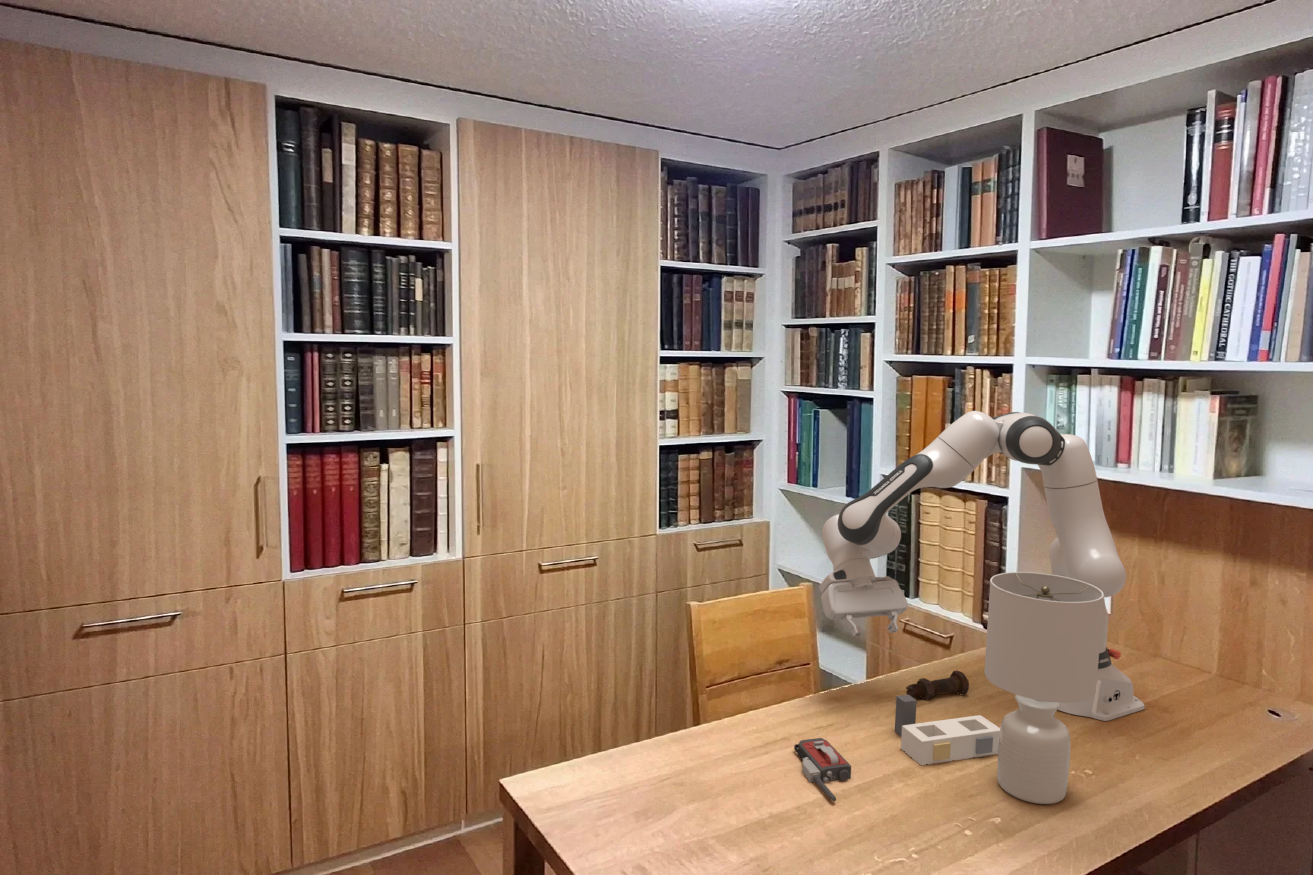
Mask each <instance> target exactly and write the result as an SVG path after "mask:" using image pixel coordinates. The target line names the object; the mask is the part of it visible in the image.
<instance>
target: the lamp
mask: <svg viewBox="0 0 1313 875" xmlns="http://www.w3.org/2000/svg"><path fill="white" fill-rule="evenodd" d="M988 594H989V595H988V596H989V597H988V598H989V599H988V612H987V613H988V614H987V627H986V628H987V629H986V630H987V631H986V640H985V641H986V643H985V657H984V658H985V659H984V672H983V673H984V676H985V678H986V679H987V681H989V682H990V683H991V684H993V685H994V686H996V687H997V688H999V689H1001V690H1004V691H1006V692H1007V693H1008V692H1009V693H1010V694H1014V695H1015V696H1014V698H1015V701H1016V702H1017V704H1018V709H1017V710H1013V711H1011V712H1009V713H1007V714H1006V715H1004V717H1003V718H1002V721H1001V724H1000V727H999V728H1000V735H999V746H998V754H997V779H996V780H997V782H998V784H999V786H1000V787H1001V789H1002V790H1004V791H1005V792H1006V793H1007V794H1009V795H1010V796H1013V797H1014V798H1017V799H1018V800H1022V801H1024V802H1028V803H1032V804H1036V805H1037V804H1039V805H1052V804H1058V803H1059V802H1061V801H1062V800H1063V799H1065V797H1066V796H1067V791H1068V790H1067V788H1068V784H1069V783H1068V782H1069V771H1070V763H1071V735H1070V731H1069V728H1067V726H1066V724H1065V723H1064V722H1063V721H1061V720H1060V719H1058V718H1056V716H1055V714H1056V712H1057V711H1058V708H1059V706H1060V703H1074V702H1081V701H1085V700H1089V699H1090V698H1092V697H1093V696H1094V695H1095V694H1096V685H1097V673H1098V660H1099V648H1100V635H1101V623H1102V610H1103V597H1104V594H1103V592H1102V591H1101V590H1100V589H1099V588H1097V587H1095V586H1093V585H1091V584H1088V583H1086V582H1083V581H1080V580H1076V579H1072V578H1068V577H1063V576H1058V575H1052V573H1051V574H1049V573H1042V572H1031V571H1030V572H1028V571H1015V572H1014V571H1013V572H1003V573H998V574H995V575H993V576H992V577H991V578H990V580H989V593H988ZM1104 598H1105V597H1104Z"/></svg>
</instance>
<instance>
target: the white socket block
mask: <svg viewBox="0 0 1313 875" xmlns="http://www.w3.org/2000/svg"><path fill="white" fill-rule="evenodd" d="M1000 728H1001V727H999V726H997V725H996V724H994V723H993V722H992V721H990V720H989V719H987V718H985V717H984V716H982V715H981V714H978V715H972V716H964V717H957V718H949V719H948V718H947V719H942V720H933V721H926V722H920V723H915V724H910V725H903V726H902V734H901V736H900V738H901V739H900V750H901V751H902V752H904V751H905V752H904V753H905V754H906V753H907V755H908V756H909V757H910V758H911V757H912V758H911V759H912V760H913V761H915V762H916V763H917V764H918V765H919V764H920V766H921V765H922V766H927V765H926V764H928V765H934V764H933V763H935V764H940V763H947V762H953V761H952V760H955V761H961V760H967V759H974V758H973V757H975V758H981V757H986V756H987V757H988V756H992V755H993V756H994V755H998V746H999V735H1000Z"/></svg>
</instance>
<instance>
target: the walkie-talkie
mask: <svg viewBox="0 0 1313 875" xmlns="http://www.w3.org/2000/svg"><path fill="white" fill-rule="evenodd" d="M793 749H794V751H795V752H796V753H797V755H798V757H799V758H800V759H801V760H802V763H801V764H802V765H801V766H802V769H801V773H802V774H803V775H804V776H805V777H806V778H807V779H808V782H809V783H815V784H817V786H818V787H819V788H820V789H821V790H822V792H823V793H824V794H825V795H826V796H828V798H829V799H830V800H831V801H833V802H836V801H837V797H836V796H835V795H834V794H833V792H832V791H831V790H830V788H828V786H827V785H826V784H827V783H829V782H833V781H834V782H835V781H844V782H845V781H847V780H849V779H851V777H852V765H851V764H850V763H849V761H847V759H845V758H844V756H843V755H842V754H840V753H839V752H838V751H837V749H836V748H834V746H833V745H832V744H831V743H830V742H829V741H828V740H827V739H825V738H823V737H818V738H808V739H802V740H800V741H799V742H798V743H797V744H796V743H795V744H794V745H793Z"/></svg>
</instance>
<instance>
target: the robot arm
mask: <svg viewBox="0 0 1313 875" xmlns="http://www.w3.org/2000/svg"><path fill="white" fill-rule="evenodd" d="M997 453H999V454H1001V455H1003V456H1005V457H1007V458H1008V459H1010V460H1013V461H1015V462H1016V461H1017V462H1019V463H1022V464H1026V465H1036V466H1038V468H1039V471H1040V472H1041V478H1042V479H1041V480H1042V483H1043V489H1044V494H1045V499H1046V505H1047V506H1046V507H1047V510H1048V516H1049V520H1050V522H1051V524H1052V527H1053V529H1054V531H1055V534H1056V537H1055V538H1054V539H1053V540H1052V542H1051V544H1050V545H1049V548H1048V557H1049V562H1050V565H1051V575H1058V576H1063V577H1068V578H1072V579H1076V580H1080V581H1083V582H1086V583H1088V584H1091V585H1093V586H1095V587H1097V588H1099V589H1100V590H1101V591H1102V592H1103V594H1104V597H1103V610H1102V623H1101V635H1100V648H1099V660H1098V673H1097V685H1096V694H1095V695H1094V696H1093V697H1092V698H1090V699H1089V700H1085V701H1081V702H1074V703H1060V706H1059V708H1058V709H1057V711H1061V712H1064V713H1066V714H1070V715H1074V716H1075V715H1076V716H1080V717H1082V716H1083V717H1087V718H1092V719H1095V720H1099V721H1104V722H1107V721H1111V720H1115V719H1117V718H1121V717H1124V716H1127V715H1130V714H1133V713H1137V712H1139V711H1142V710H1145V704H1144V702H1142V700H1141V699H1139V698H1138V697H1137V696H1135V695H1134V685H1133V683H1132V680H1131V679H1130V678H1129V677H1128V676H1127V675H1126V674H1125V673H1123V672H1122V671H1121V670H1120V669H1119V668H1117V667H1116V666H1115V665H1114V664H1113V662H1112V659H1111V658H1113V659H1115V660H1119V659H1120V658H1121V657H1122V653H1121V651H1120V650H1117V649H1114V648H1110V649H1109V648H1108V647H1107V642H1108V641H1107V640H1108V629H1109V613H1108V609H1107V606H1106V602H1105V598H1110V597H1112V596H1115V595H1117V594H1118V593H1119V592H1121V590H1122V589H1123V588H1124V586H1125V584H1126V581H1127V572H1126V571H1127V570H1126V569H1125V567H1124V564H1123V563H1122V560H1121V559H1120V556H1119V553H1118V550H1117V547H1116V544H1115V540H1114V539H1113V535H1112V532H1111V529H1110V527H1109V524H1108V522H1107V519H1106V515H1105V512H1104V508H1103V502H1102V497H1101V494H1100V493H1101V492H1100V487H1099V483H1098V477H1097V472H1096V469H1095V464H1094V461H1093V457H1092V455H1091V452H1090V450H1089V447H1088V445H1087V443H1086V441H1085V440H1084V439H1083V438H1082V437H1080V436H1079V435H1075V434H1070V433H1064V434H1063V433H1062V434H1061V433H1059V431H1058V430H1057V429H1056V428H1055V427H1054V426H1053V425H1052V423H1050V422H1049V421H1048V420H1047V419H1045V418H1043V417H1041V416H1038V415H1035V414H1033V413H1030V412H1019V411H1016V412H1015V411H1014V412H1013V411H1012V412H1006V413H1004V414H1001V415H997V416H993V417H991V416H990V415H988V414H987V413H984V412H982V411H979V410H972V411H971V410H970V411H967V412H966V413H965V414H963V415H962V416H960V417H958V418H957V419H956V420H955V421H953V422H952V423H951V424H950V425H948V426H947V427H946V428H945V429H944V430H943V431H942V432H941V433H940V434H939V435H938V436H937V437H936V438H935V439H934V440H933V441H932V442H931V443H930V444H928V445H927V446H926V447H925V448H923V450H921V451H920V452H918V453H917V454H914V455H913V456H911V457H909V458H906V459H905V460H904V461H903V462H901V464H899V465H898V466H897V467H895V468H894V469H893V470H892V471H890V473H888V474H887V475H886V476H885V477H883V478H882V479H881V480H880V481H879V482H878V483H877V484H875V485H874V486H873V487H872V488H871V489H870V490H868V491H867V492H865V493H864V494H863V495H860V496H858V497H857V498H854V499H853V500H850V501H849V502H847V503H846V504H845V505H844V506H843V507H842V508H841V510H840V512H839V513H837V514H835V515H833V516H831V517H830V518H828V519H827V520H826V521H825V522H824V524H823V526H822V532H821V534H822V535H821V536H822V541H823V544H824V545H823V546H824V547H825V550H826V551H825V552H826V554H827V557H828V559H829V560H830V562H831V563H832V570H833V571H832V572H830V573H828V575H827V576H825V578H824V579H823V580H822V581H821V583H820V584H819V586H818V589H819V591H820V593H821V596H820V599H821V605H822V610H823V612H824V615H825V617H826V618H827V619H829V620H831V621H835V620H836V621H837V620H842V622H843V624H844V625H845V626H846V627H847V628H848V630H850V632H851V634H852V635H851V636H853V637H857V636H861V635H862V630H861V626H860V625H856V624H855V622H854V621H853V620H852V619H859V618H873V617H882V616H884V617H885V616H887V619H888V620H890V623H889V624H888V625H887V626H886V627H887V629H888V632H889V633H891V634H892V633H897V632H898V631H899V627H898V624H897V620H898V616H899V615H902V614H904V613H905V611H907V610H908V606H909V603H908V600H907V598H906V596H905V594H904V593H903V591H902V589H901V588H900V585H899V583H898V581H897V580H896V579H895V578H892V577H890V576H888V575H886V576H883V577H882V576H877V577H876V575H875V571H874V569H873V567H872V564H871V561H870V560H872V559H876V558H880V557H884V556H885V555H889V554H891V553H892V552H894V551H895V550H896V549H897V548H898V547H899V545H900V543H901V542H902V541H901V540H902V531H901V527H900V525H899V524H898V523H897V522H896V521H895V520H894V519H893V518H892V517H890V516H888V514H887V513H888V512H889V511H891V509H893V508H894V507H895V506H896V505H898V504H899V503H900V502H901V501H902V500H903V499H904V498H906V497H907V496H908V495H909V494H911V493H912V492H914V491H916V490H918V489H921V488H930V487H931V488H939V489H947V488H953V487H955V486H957V485H958V484H960V483H961V482H963V481H964V480H965V479H967V478H968V477H969V475H971V474H972V473H973V472H974V471H975V470H976V468H977V467H979V466H980V465H981V463H982V462H983V461H984V460H985V459H987V458H988V457H990V456H991V455H992V456H993V455H994V454H997Z"/></svg>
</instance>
